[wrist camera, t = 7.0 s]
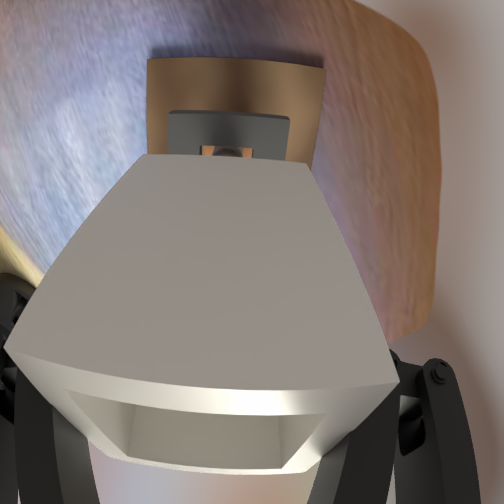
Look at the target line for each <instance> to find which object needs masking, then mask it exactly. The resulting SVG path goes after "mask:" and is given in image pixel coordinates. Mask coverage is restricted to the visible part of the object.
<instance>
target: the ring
mask: <svg viewBox="0 0 504 504" xmlns="http://www.w3.org/2000/svg"><path fill="white" fill-rule="evenodd" d="M290 121H291V120H290V119H289V118H288V116H281V115H272V114H261V113H249V112H233V111H211V110H172V111H171V112H169V113H168V154H174V155H202V145H203V146H226V147H243V148H253V149H252V158H257V159H269V160H280V161H285V158H286V150H287V143H288V136H289V128H290Z"/></svg>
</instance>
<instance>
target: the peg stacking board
mask: <svg viewBox="0 0 504 504" xmlns="http://www.w3.org/2000/svg"><path fill="white" fill-rule="evenodd" d="M326 71H327V69H323V68H317V67H311V66H305V65H298V64H291V63H284V62H276V61H266V60H255V59H241V58H220V57H178V58H157V59H147V149H148V154H168V113H169V112H171V111H172V110H211V111H233V112H249V113H261V114H272V115H281V116H288V118H289V119H290V120H291V121H290V128H289V136H288V143H287V150H286V158H285V161H290V162H299V163H306V164H307V166H308V168H309V169H310V171H311V166H312V160H313V155H314V149H315V143H316V137H317V131H318V125H319V118H320V112H321V105H322V99H323V92H324V85H325V78H326ZM252 149H253V148H243V147H226V146H203V145H202V155H208V156H228V157H244V158H252Z"/></svg>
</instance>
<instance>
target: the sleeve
mask: <svg viewBox="0 0 504 504" xmlns="http://www.w3.org/2000/svg"><path fill="white" fill-rule="evenodd" d="M3 348H4V349H5V350H6V352H7V353H8V354H9V356H10V357H11V358H12V360H13V361H14V362H15V364H16V365H17V366H18V367H19V369H20V370H21V371H22V372H23V374H24V375H25V376H26V377H27V378H28V380H29V381H30V382H31V383H32V384H33V385H34V387H35V388H36V389H37V390H38V391H39V392H40V393H41V394H42V395H43V397H44V398H45V399H46V400H47V401H48V402H49V403H50V404H51V405H53V406H54V407H55V408H56V409H57V410H58V411H59V412H60V413H61V414H62V415H63V416H64V417H65V418H66V419H67V420H68V421H69V422H70V423H71V424H72V425H73V426H74V427H75V428H76V429H77V430H79V431H80V432H81V433H82V434H83V435H84V436H85V437H86V438H87V439H88V440H89V441H90V442H91V443H92V444H94V445H95V446H96V447H97V448H99V449H100V450H101V451H102V452H103V453H105V454H106V455H107V456H108V457H111V458H115V459H119V460H123V461H128V462H133V463H138V464H143V465H148V466H155V467H161V468H167V469H175V470H183V471H192V472H203V473H218V474H250V475H252V474H253V475H254V474H286V473H301V472H305V471H307V470H308V469H309V468H310V467H312V466H313V465H314V464H315V463H317V462H318V461H319V460H320V459H321V457H323V456H324V455H325V454H326V453H327V452H328V451H330V450H331V449H332V448H333V447H334V446H335V445H336V444H337V443H339V442H340V441H341V440H342V439H343V438H344V437H345V436H346V435H347V434H348V433H349V432H350V431H353V430H354V429H355V428H356V427H357V426H358V425H359V424H361V423H362V422H363V421H364V420H365V419H366V418H367V417H368V416H369V415H370V414H371V413H372V412H373V410H374V409H375V408H376V407H377V406H378V405H379V404H380V403H381V402H382V401H383V400H384V399H385V398H386V397H387V396H388V395H389V393H390V392H391V391H392V390H393V389H394V388H395V387H396V386H397V384H398V383H399V382H400V380H399V377H398V374H397V371H396V368H395V365H394V362H393V359H392V357H391V354H390V351H389V348H388V345H387V342H386V340H385V337H384V334H383V332H382V329H381V326H380V324H379V321H378V318H377V316H376V313H375V311H374V308H373V306H372V303H371V301H370V298H369V296H368V293H367V291H366V288H365V286H364V284H363V281H362V279H361V276H360V274H359V272H358V269H357V267H356V265H355V263H354V260H353V258H352V256H351V254H350V251H349V249H348V247H347V245H346V242H345V240H344V238H343V236H342V234H341V232H340V230H339V227H338V225H337V223H336V221H335V219H334V217H333V215H332V213H331V211H330V209H329V207H328V205H327V203H326V201H325V199H324V197H323V195H322V193H321V191H320V189H319V187H318V185H317V183H316V181H315V179H314V177H313V175H312V173H311V171H310V169H309V168H308V166H307V164H306V163H299V162H290V161H280V160H269V159H257V158H244V157H228V156H208V155H174V154H143V155H142V156H141V157H140V158H139V159H138V160H137V161H136V162H135V163H134V164H133V165H132V166H131V167H130V169H129V170H128V171H127V172H126V173H125V174H124V175H123V176H122V177H121V178H120V179H119V181H118V182H117V183H116V184H115V185H114V186H113V187H112V189H111V190H110V191H109V192H108V193H107V194H106V195H105V197H104V198H103V199H102V200H101V201H100V203H99V204H98V205H97V206H96V207H95V209H94V210H93V211H92V212H91V214H90V215H89V216H88V217H87V219H86V220H85V221H84V222H83V224H82V225H81V226H80V227H79V229H78V230H77V231H76V233H75V234H74V235H73V237H72V238H71V239H70V241H69V242H68V243H67V245H66V246H65V247H64V249H63V250H62V252H61V253H60V254H59V256H58V257H57V259H56V260H55V262H54V263H53V265H52V266H51V267H50V269H49V270H48V272H47V273H46V275H45V276H44V278H43V279H42V281H41V283H40V284H39V286H38V287H37V289H36V290H35V292H34V294H33V295H32V297H31V299H30V300H29V302H28V304H27V305H26V307H25V309H24V310H23V312H22V314H21V316H20V317H19V319H18V321H17V323H16V324H15V326H14V328H13V330H12V332H11V334H10V336H9V337H8V339H7V341H6V343H5V345H4V347H3Z"/></svg>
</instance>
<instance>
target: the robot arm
mask: <svg viewBox="0 0 504 504" xmlns="http://www.w3.org/2000/svg"><path fill="white" fill-rule="evenodd" d="M34 292H35V289H34V288H33V287H32V286H30V285H29V284H28V283H26V282H25V281H23V280H22V279H20V278H18V277H16V276H14V275H11V274H7V273H0V504H18V489H19V496H20V502H21V504H100V502H99V498H98V493H97V489H96V485H95V480H94V475H93V471H92V465H91V459H90V454H89V447H88V441H87V438H86V437H85V436H84V435H83V434H82V433H81V432H80V431H79V430H77V429H76V428H75V427H74V426H73V425H72V424H71V423H70V422H69V421H68V420H67V419H66V418H65V417H64V416H63V415H62V414H61V413H60V412H59V411H58V410H57V409H56V408H55V407H54V406H53V405H51V404H50V403H49V402H48V401H47V400H46V399H45V398H44V397H43V395H42V394H41V393H40V392H39V391H38V390H37V389H36V388H35V387H34V385H33V384H32V383H31V382H30V381H29V380H28V378H27V377H26V376H25V375H24V374H23V372H22V371H21V370H20V369H19V367H18V366H17V365H16V364H15V362H14V361H13V360H12V358H11V357H10V356H9V354H8V353H7V352H6V350H5V349H4V348H3V347H4V345H5V343H6V341H7V339H8V337H9V336H10V334H11V332H12V330H13V328H14V326H15V324H16V323H17V321H18V319H19V317H20V316H21V314H22V312H23V310H24V309H25V307H26V305H27V304H28V302H29V300H30V299H31V297H32V295H33V294H34ZM389 351H390V354H391V357H392V359H393V362H394V365H395V368H396V371H397V374H398V377H399V380H400V382H399V383H398V384H397V386H396V387H395V388H394V389H393V390H392V391H391V392H390V393H389V395H388V396H387V397H386V398H385V399H384V400H383V401H382V402H381V403H380V404H379V405H378V406H377V407H376V408H375V409H374V410H373V412H372V413H371V414H370V415H369V416H368V417H367V418H366V419H365V420H364V421H363V422H362V423H361V424H359V425H358V426H357V427H356V428H355V429H354V430H353V431H350V432H349V433H348V434H347V435H346V436H345V437H344V438H343V439H342V440H341V441H340V442H339V443H337V444H336V445H335V446H334V447H333V448H332V449H331V450H330V451H328V452H327V453H326V454H325V455H324V456H323V457H321V461H320V464H319V468H318V471H317V475H316V478H315V481H314V484H313V487H312V491H311V494H310V497H309V500H308V503H307V504H386V501H387V496H388V491H389V486H390V481H391V475H392V470H393V463H394V474H395V490H396V504H481V500H480V490H479V481H478V474H477V467H476V461H475V455H474V449H473V444H472V439H471V434H470V430H469V425H468V421H467V417H466V413H465V409H464V405H463V401H462V397H461V394H460V390H459V387H458V383H457V380H456V377H455V373H454V371H453V369H452V368H451V366H450V365H449V364H448V363H447V362H445V361H443V360H442V359H437V358H433V359H430V360H428V361H427V362H426V363H425V364H424V365H423V366H419V365H414V364H409V363H405V362H402V361H400V359H399V357H398V356H397V355H396V353H394V352H393V351H392V350H390V349H389Z"/></svg>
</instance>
